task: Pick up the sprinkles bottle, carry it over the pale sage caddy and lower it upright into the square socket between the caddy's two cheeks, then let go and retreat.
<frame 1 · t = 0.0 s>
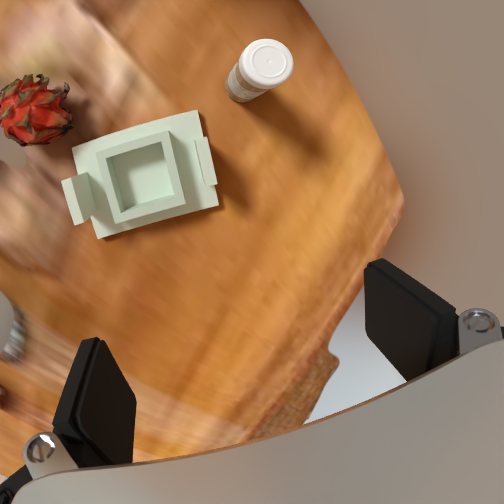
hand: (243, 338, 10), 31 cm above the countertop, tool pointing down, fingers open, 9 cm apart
dragon fruit: (46, 112, 32), on the countertop
sprinkles bottle: (241, 86, 36), on the countertop
caddy: (144, 173, 37), on the countertop
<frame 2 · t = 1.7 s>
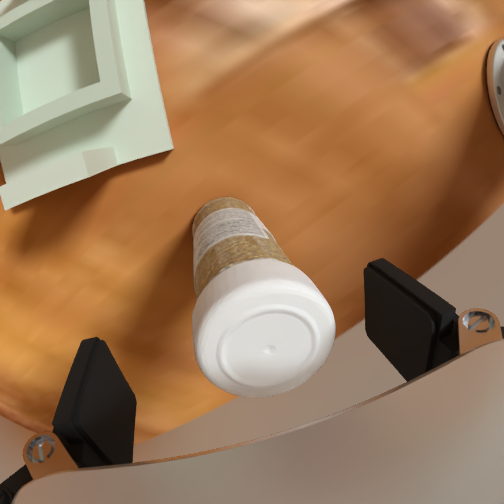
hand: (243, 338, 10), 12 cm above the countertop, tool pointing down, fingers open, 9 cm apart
sprinkles bottle: (224, 227, 22), on the countertop
caddy: (66, 65, 16), on the countertop
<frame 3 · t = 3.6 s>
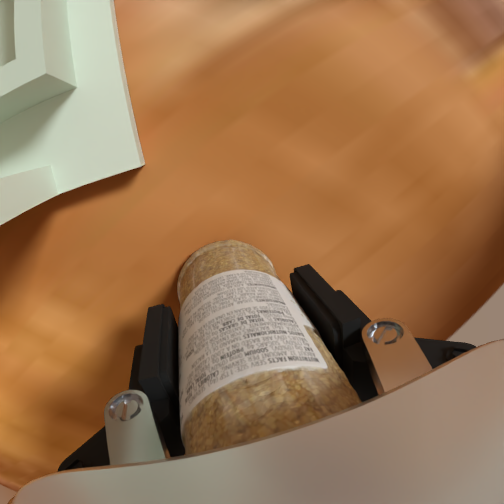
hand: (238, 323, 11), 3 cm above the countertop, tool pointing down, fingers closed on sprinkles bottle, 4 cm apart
sprinkles bottle: (225, 282, 15), on the countertop, touching gripper
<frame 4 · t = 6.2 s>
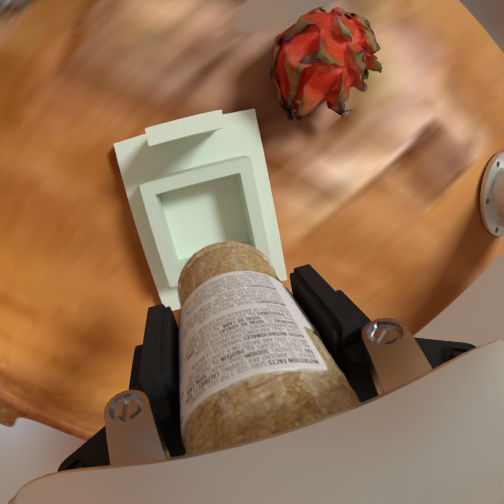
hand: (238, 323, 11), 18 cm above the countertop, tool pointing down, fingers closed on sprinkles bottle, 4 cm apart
dragon fruit: (307, 70, 26), on the countertop
sprinkles bottle: (225, 283, 15), point 15 cm above the countertop, touching gripper
caddy: (204, 212, 28), on the countertop
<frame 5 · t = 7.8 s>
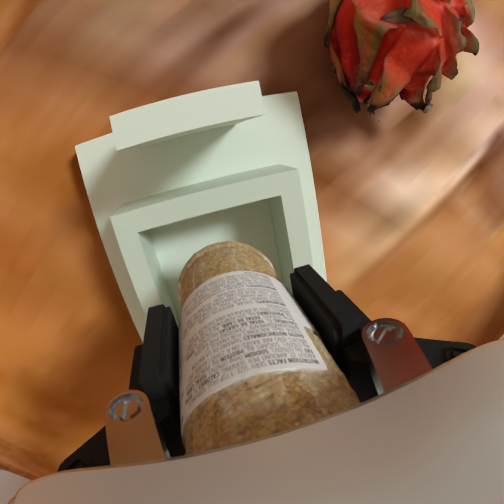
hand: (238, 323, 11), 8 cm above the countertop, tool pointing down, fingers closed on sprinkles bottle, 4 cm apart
dragon fruit: (365, 44, 16), on the countertop
sprinkles bottle: (225, 283, 15), point 5 cm above the countertop, touching gripper
caddy: (217, 250, 19), on the countertop
when the fingers open (6 cm above the countertop, at t = 9.0 s): sprinkles bottle drops 2 cm, resting on caddy.
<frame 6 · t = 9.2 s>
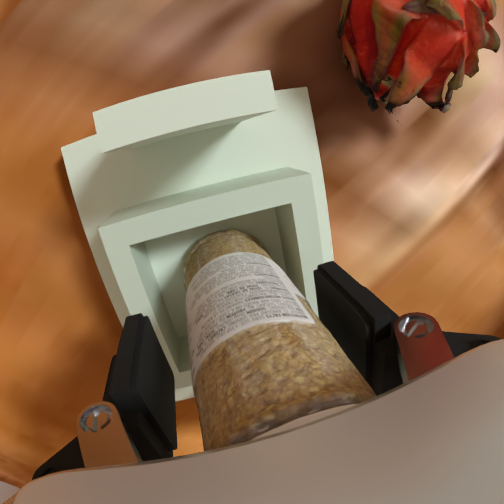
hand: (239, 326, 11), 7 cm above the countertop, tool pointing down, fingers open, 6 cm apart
dragon fruit: (378, 38, 15), on the countertop
sprinkles bottle: (225, 268, 16), point 1 cm above the countertop, touching caddy
caddy: (218, 261, 17), on the countertop
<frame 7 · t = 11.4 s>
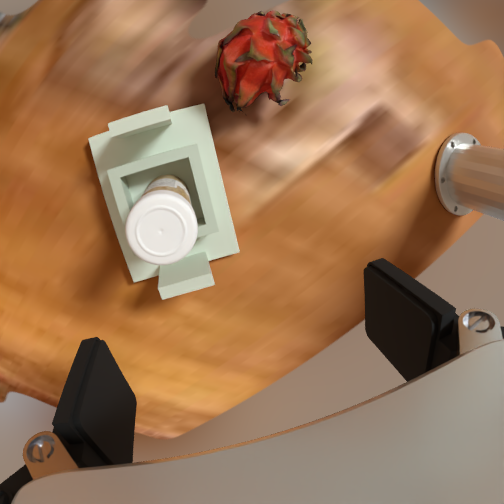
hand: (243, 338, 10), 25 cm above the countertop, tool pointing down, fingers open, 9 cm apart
dragon fruit: (252, 67, 30), on the countertop
sprinkles bottle: (167, 195, 31), point 1 cm above the countertop, touching caddy
caddy: (164, 193, 32), on the countertop
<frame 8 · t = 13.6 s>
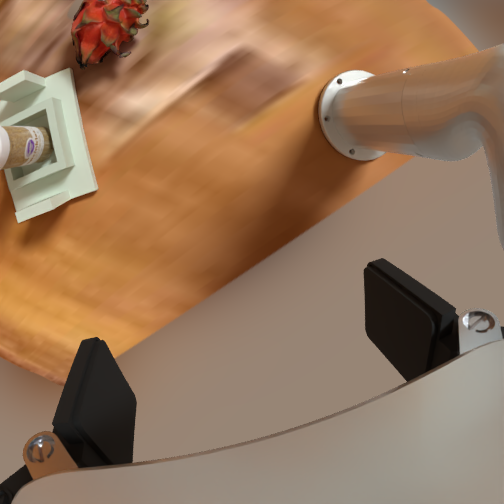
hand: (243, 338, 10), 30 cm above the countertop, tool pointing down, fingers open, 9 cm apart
dragon fruit: (114, 33, 29), on the countertop
sprinkles bottle: (41, 144, 31), point 1 cm above the countertop, touching caddy
caddy: (42, 143, 32), on the countertop
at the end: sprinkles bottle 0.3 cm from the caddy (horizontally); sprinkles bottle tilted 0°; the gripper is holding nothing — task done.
